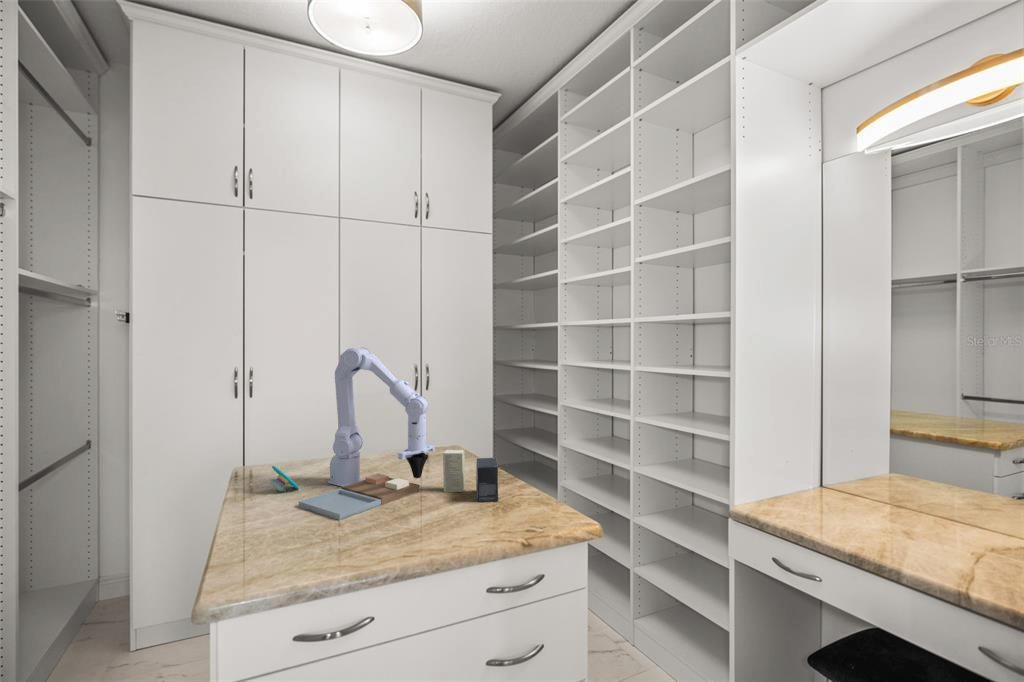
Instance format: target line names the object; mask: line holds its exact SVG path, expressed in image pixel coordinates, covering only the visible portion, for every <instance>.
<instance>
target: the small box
mask: <svg viewBox="0 0 1024 682" xmlns="http://www.w3.org/2000/svg"><path fill="white" fill-rule="evenodd" d="M475 467H476V468H475V469H476V471H475V474H476V475H475V476H476V477H475V482H476V485H475V487H476V501H477V503H492V502H493V503H495V502H496V503H498V502H499V479H498V478H499V475H498V474H499V465H498V460H497V457H478V458H477V457H476V466H475Z"/></svg>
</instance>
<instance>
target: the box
mask: <svg viewBox="0 0 1024 682" xmlns="http://www.w3.org/2000/svg"><path fill="white" fill-rule="evenodd" d="M380 506H382V505H381V500H380V499H376V498H373V497H369V496H365V495H362V494H358V493H354V492H351V491H347V490H343V489H341V488H339V489H335V490H332V491H328V492H326V493H325V492H324V493H322V494H318V495H316V496H312V497H309V498H305V499H302V500H299V501H298V508H301V509H305V510H308V511H310V512H313V513H318V514H319V515H323V516H326V517H329V518H332V519H336V520H338V521H341V520H344V519H348V518H349V517H353V516H355V515H358V514H360V513H363V512H366V511H369V510H372V509H374V508H377V507H380Z"/></svg>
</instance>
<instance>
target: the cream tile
mask: <svg viewBox="0 0 1024 682" xmlns="http://www.w3.org/2000/svg"><path fill="white" fill-rule="evenodd" d="M409 482H410V480H407V479H402V478H399V477H398V478H393V480H390V481H387V482H385V487H388V488H392V489H396V490H398V489H401V488H404V487H407V486H409Z"/></svg>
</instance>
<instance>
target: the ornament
mask: <svg viewBox="0 0 1024 682" xmlns="http://www.w3.org/2000/svg"><path fill="white" fill-rule="evenodd" d="M271 468H272V470H274V472H275V473H277V474H278V476H277V478H270V480H269V481H270V485H272V486H273V487H274V488H275V489H276V490H277V491H279V492H280V493H283V491H286V485H287V484H290V486H292V487H293V488H294V489H297V490H299V489H300V487H299V486H298V485H297V483H296V482H295V481H294V480H292V478H290V477H289V476H288V475H287V474H286V473H284V472H283V471H282V470H281V469H279V468H278V467H276V465H275V466H274V465H271Z"/></svg>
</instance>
